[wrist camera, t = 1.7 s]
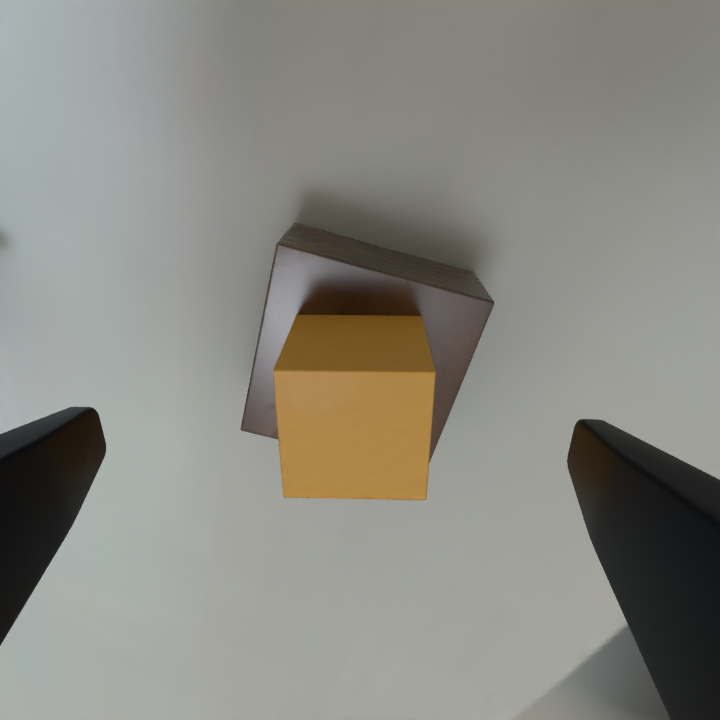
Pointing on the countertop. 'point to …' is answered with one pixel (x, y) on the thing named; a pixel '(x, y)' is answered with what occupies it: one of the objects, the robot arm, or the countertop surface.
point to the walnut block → (365, 310)
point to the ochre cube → (355, 407)
